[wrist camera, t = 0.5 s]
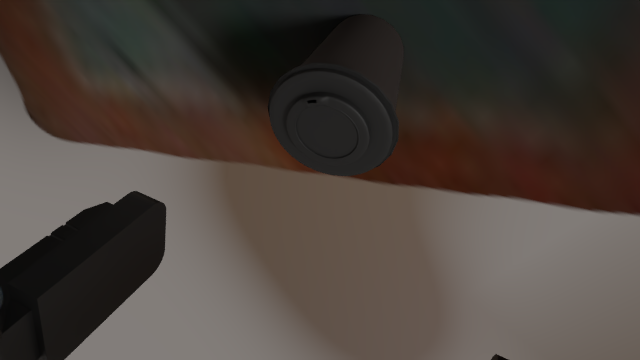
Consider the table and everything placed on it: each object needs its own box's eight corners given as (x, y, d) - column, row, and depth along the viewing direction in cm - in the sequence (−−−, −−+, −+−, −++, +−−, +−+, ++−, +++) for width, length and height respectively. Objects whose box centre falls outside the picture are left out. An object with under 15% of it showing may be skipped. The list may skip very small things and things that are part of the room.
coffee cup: (364, -32, 34) (317, 45, 27) (449, 55, 36) (425, 147, 29) (290, 44, 39) (235, 124, 32) (368, 116, 42) (332, 204, 35)
